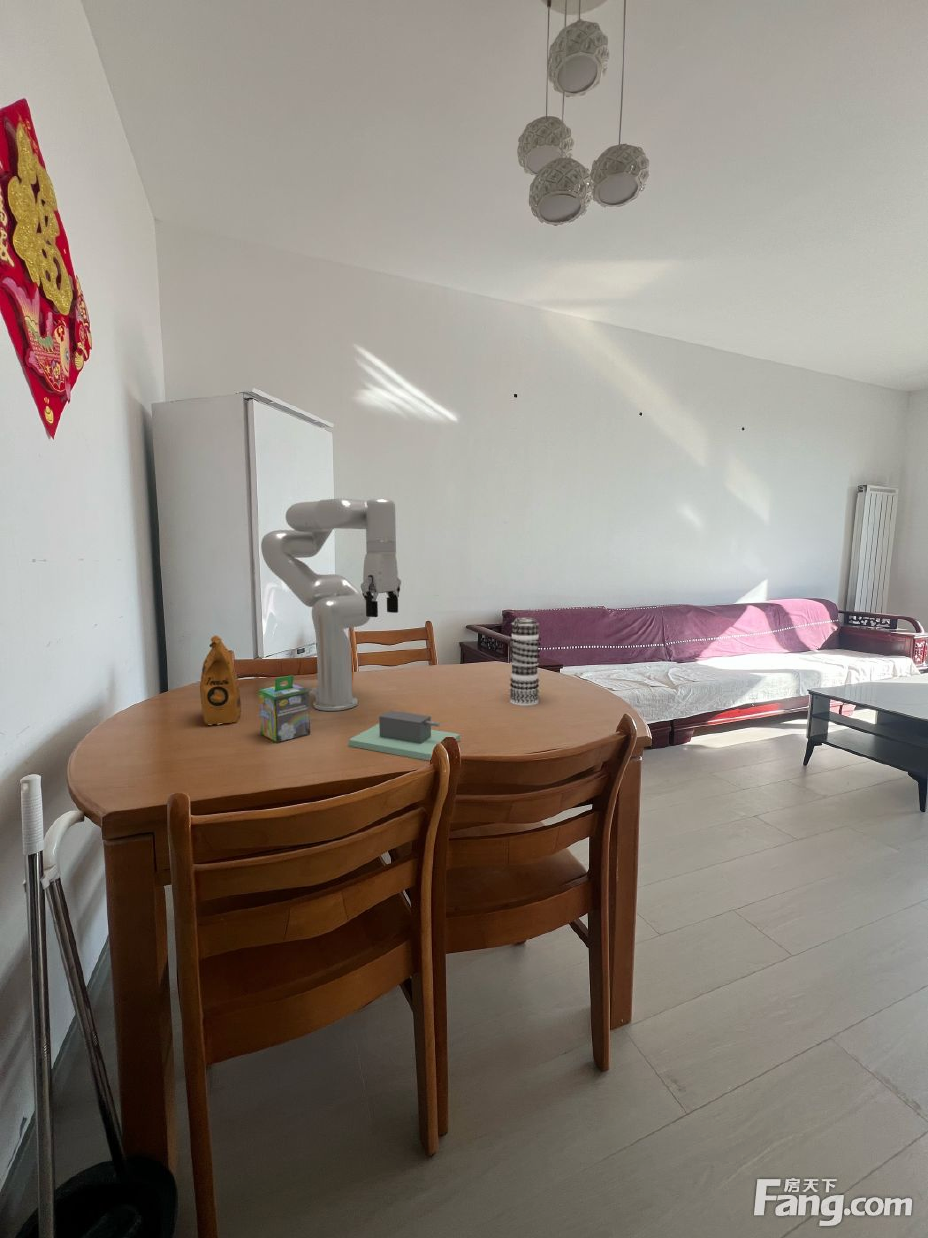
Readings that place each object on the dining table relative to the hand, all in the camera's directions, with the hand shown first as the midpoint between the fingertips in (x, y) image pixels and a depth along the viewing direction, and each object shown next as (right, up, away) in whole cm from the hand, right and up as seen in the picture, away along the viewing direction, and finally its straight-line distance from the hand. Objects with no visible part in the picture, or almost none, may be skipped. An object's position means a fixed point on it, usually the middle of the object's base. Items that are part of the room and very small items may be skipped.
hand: (382, 614), depth 141 cm
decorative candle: (+39, -26, +20) cm, 51 cm away
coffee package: (-44, -28, +4) cm, 52 cm away
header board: (+7, -30, -14) cm, 34 cm away
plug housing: (+9, -29, -15) cm, 34 cm away
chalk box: (-23, -30, -8) cm, 38 cm away
